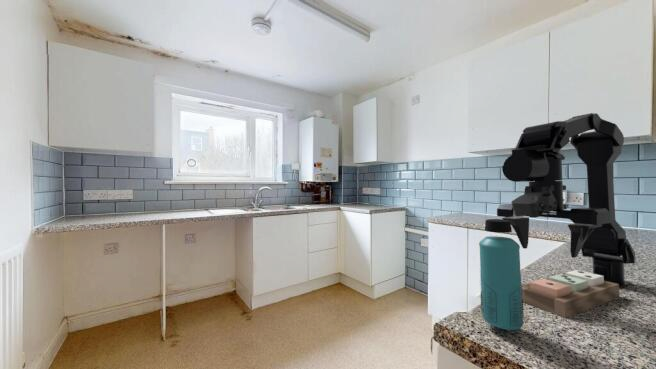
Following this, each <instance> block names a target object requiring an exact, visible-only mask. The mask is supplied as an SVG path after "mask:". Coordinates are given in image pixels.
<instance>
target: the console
mask: <svg viewBox="0 0 656 369" xmlns="http://www.w3.org/2000/svg"><path fill="white" fill-rule="evenodd" d="M563 275H565V274H563ZM546 279H547V280H548V278H546ZM522 286H523V287H522ZM521 287H522V290H523V293H522V294H523V296H522V298H523V304H527V305H529V306H532V307H534V308H537V309H540V310H542V311H545V312H548V313H551V314H554V315H556V316H559V317H562V318H565V319H566V318H568V317H571V316H573V315H576V314H578V313H582V312H585V311H586V310H590V309H592V308H596V307H597V306H599V305H603V304H606V303H608V302H611V301H613V300H616V299H618V298H620V288H619V284H616V283H612V282H608V281H604V283H603V284H600V285H597V286H594V287H593V286H589V285H588V289H585V290H581V291H578V292H575V291H571V290H570V294H569V295H566V296H562V297H559V298H556V297H553V296H550V295H547V294H543V293H540V292H537V291H534V290H531V289H530V283H527V284H521Z"/></svg>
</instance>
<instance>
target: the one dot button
mask: <svg viewBox="0 0 656 369" xmlns="http://www.w3.org/2000/svg"><path fill="white" fill-rule="evenodd" d="M547 279H548V278H540V279H535V280H533V281H529V284H530V289H531V290H534V291H537V292H540V293H543V294H547V295H550V296H553V297H556V298H559V297H562V296H566V295H569V294H570V286H569V285H565V284H562V283H558V282H554V281H550V280H547Z"/></svg>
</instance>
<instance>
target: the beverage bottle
mask: <svg viewBox="0 0 656 369" xmlns="http://www.w3.org/2000/svg"><path fill="white" fill-rule="evenodd" d="M484 223H485V225H484V231H486V232H491V233H499V234H500V233H503V234H504V233H512V229H513V228H512V225H511V222H510V221H509V220H503V219H500V218H490V219H485V222H484ZM478 246H479V261H480V262H479V263H480V264H479V266H480V268H479V273H480V274H479V276H480V281H479V283H480V284H479V285H480V286H479V287H480V289H479V290H480V310H481V316H482V319H483V320H484V321H485V323H486V324H487V323H488V324H489V325H490V326H493V327H495V328H498V329H503V330H506V331H507V330H508V331H515V330H520V329H522V328H523V325H524V323H525V322H524V319H525V316H524V309H525V308H524V303H523V298H522V296H523V294H522V293H523V290H522V287H523V286H522V285H523V281H522V277H523V276H522V273H521V254H520V253H521V252H520V248H521V247H520V244H519V243H518V242H517V241H515V240H514V239H513V238H511V237H507V236H497V235H495V236H494V235H490V236H485V237H484V238H483V239H481V240H480V241H479V242H478ZM521 286H522V287H521Z"/></svg>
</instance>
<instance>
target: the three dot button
mask: <svg viewBox="0 0 656 369" xmlns="http://www.w3.org/2000/svg"><path fill="white" fill-rule="evenodd" d="M547 279H548V280H550V281H554V282H558V283H562V284H565V285H569V286H570V290H571V291H575V292H578V291H581V290H585V289H588V281H587V280H583V279H579V278H575V277H571V276H566V275H564V274H562V273H560V274H556V275H552V276H549V277H548V278H547Z"/></svg>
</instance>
